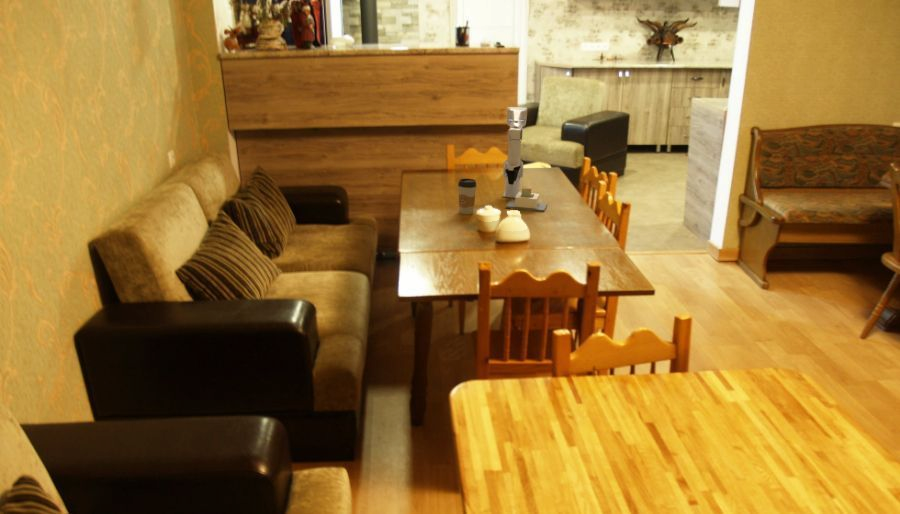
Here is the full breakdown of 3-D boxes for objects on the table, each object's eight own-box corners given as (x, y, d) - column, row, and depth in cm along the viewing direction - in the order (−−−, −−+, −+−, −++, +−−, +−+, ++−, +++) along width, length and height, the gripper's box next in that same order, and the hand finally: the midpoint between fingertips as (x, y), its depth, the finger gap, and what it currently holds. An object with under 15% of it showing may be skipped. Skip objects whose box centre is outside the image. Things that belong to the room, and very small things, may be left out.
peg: (521, 203, 329) (523, 186, 326) (530, 203, 328) (531, 187, 325) (520, 205, 325) (521, 188, 322) (529, 206, 324) (530, 189, 321)
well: (510, 201, 334) (510, 190, 332) (547, 205, 330) (548, 194, 328) (505, 208, 323) (506, 196, 321) (544, 212, 319) (544, 200, 317)
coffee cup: (453, 213, 313) (454, 181, 308) (462, 208, 320) (463, 177, 315) (470, 216, 310) (471, 183, 304) (478, 211, 317) (479, 179, 311)
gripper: (508, 150, 330) (506, 178, 335) (502, 156, 317) (501, 185, 321) (522, 152, 328) (521, 179, 333) (518, 157, 315) (516, 186, 320)
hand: (512, 182), depth 327 cm, fingers open, 7 cm apart
